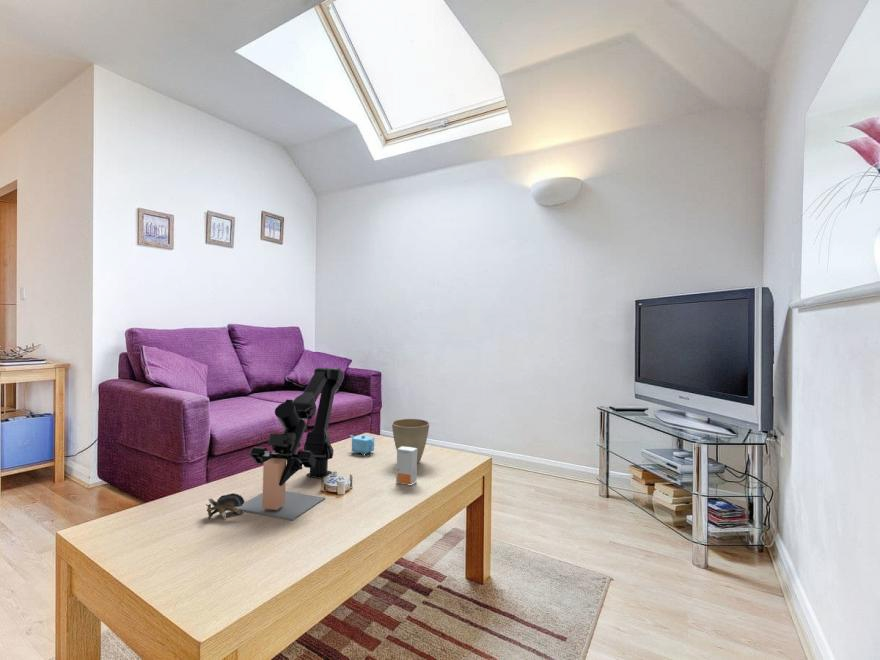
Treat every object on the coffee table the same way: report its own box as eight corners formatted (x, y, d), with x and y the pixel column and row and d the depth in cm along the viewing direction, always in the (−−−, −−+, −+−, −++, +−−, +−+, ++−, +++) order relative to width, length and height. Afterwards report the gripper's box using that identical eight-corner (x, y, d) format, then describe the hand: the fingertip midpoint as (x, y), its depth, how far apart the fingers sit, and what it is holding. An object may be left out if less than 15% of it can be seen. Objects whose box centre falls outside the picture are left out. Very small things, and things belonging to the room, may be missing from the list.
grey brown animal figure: (210, 523, 113) (247, 509, 118) (204, 496, 116) (240, 484, 121) (210, 528, 119) (244, 514, 124) (203, 503, 121) (238, 490, 126)
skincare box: (395, 483, 148) (396, 448, 148) (401, 479, 152) (402, 445, 152) (411, 486, 146) (412, 451, 146) (416, 482, 150) (417, 447, 150)
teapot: (345, 452, 183) (345, 434, 183) (353, 448, 189) (354, 431, 189) (368, 456, 178) (369, 438, 178) (377, 453, 183) (377, 435, 183)
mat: (270, 489, 140) (270, 488, 140) (325, 498, 134) (325, 497, 134) (233, 509, 124) (233, 507, 124) (292, 520, 118) (292, 519, 118)
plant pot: (393, 456, 179) (394, 418, 179) (429, 457, 179) (430, 419, 178) (388, 468, 164) (389, 426, 164) (427, 469, 164) (428, 427, 164)
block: (270, 502, 127) (271, 457, 127) (285, 503, 126) (286, 459, 126) (262, 508, 122) (263, 462, 122) (277, 509, 122) (278, 463, 122)
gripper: (253, 419, 129) (229, 468, 119) (312, 423, 127) (293, 473, 116) (267, 439, 137) (246, 486, 127) (323, 443, 135) (306, 492, 124)
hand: (272, 484), depth 123 cm, fingers closed on block, 4 cm apart
